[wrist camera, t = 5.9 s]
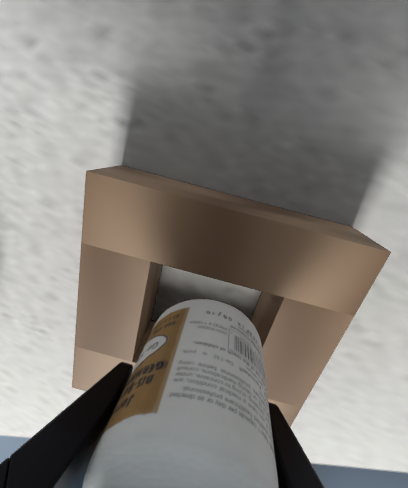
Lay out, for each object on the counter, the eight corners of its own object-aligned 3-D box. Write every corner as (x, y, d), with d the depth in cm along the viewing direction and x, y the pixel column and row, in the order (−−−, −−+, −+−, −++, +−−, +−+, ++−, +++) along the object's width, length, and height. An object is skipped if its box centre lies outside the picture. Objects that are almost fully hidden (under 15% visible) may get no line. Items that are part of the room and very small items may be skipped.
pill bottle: (159, 283, 10) (-79, 690, 2) (274, 309, 9) (399, 848, 2) (148, 368, 11) (-13, 765, 4) (246, 392, 11) (263, 860, 4)
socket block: (352, 227, 12) (409, 264, 8) (271, 391, 16) (284, 467, 12) (121, 165, 12) (69, 173, 8) (100, 344, 16) (59, 405, 12)
